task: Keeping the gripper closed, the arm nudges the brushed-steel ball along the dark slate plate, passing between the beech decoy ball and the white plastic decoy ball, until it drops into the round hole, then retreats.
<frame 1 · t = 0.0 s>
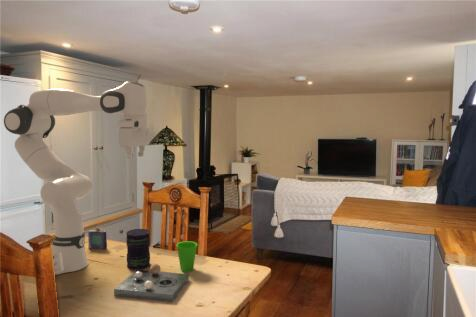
hand: (135, 157, 147), 48 cm above the table, fingers open, 8 cm apart
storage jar: (138, 265, 159), on the table
plastic ball: (148, 284, 131), point 4 cm above the table, touching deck
wood ball: (155, 268, 144), point 4 cm above the table, touching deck
steel ball: (138, 275, 139), point 4 cm above the table, touching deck
flask: (97, 248, 180), on the table
cup: (186, 270, 155), on the table
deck: (153, 287, 138), on the table
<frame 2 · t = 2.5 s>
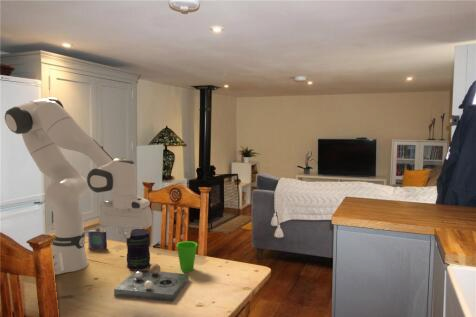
hand: (125, 237, 138), 19 cm above the table, fingers closed
nothing on the table moved.
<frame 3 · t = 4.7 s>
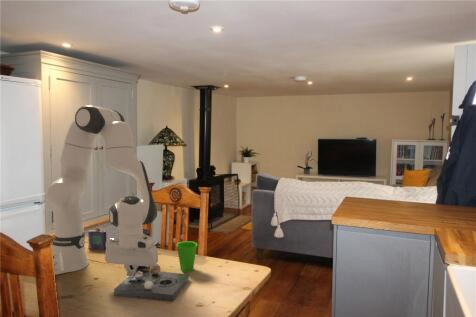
hand: (131, 275, 139), 4 cm above the table, fingers closed
steel ball: (138, 275, 139), point 4 cm above the table, tilted 7°, touching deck, gripper
everything else where it was.
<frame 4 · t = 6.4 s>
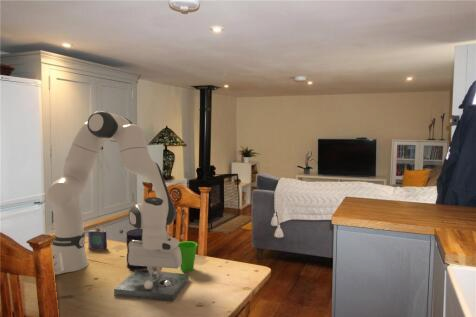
hand: (154, 277, 137), 4 cm above the table, fingers closed
steel ball: (167, 284, 137), point 2 cm above the table, tilted 93°
everything else where it was.
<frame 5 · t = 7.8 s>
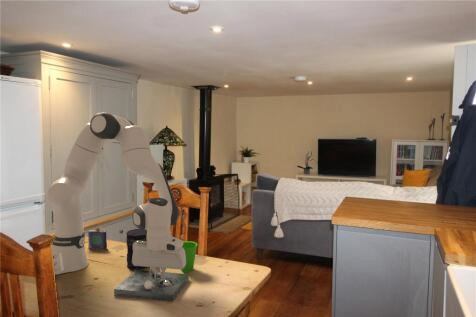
hand: (159, 278, 137), 4 cm above the table, fingers closed
steel ball: (166, 284, 137), point 2 cm above the table, tilted 81°
everything else where it was.
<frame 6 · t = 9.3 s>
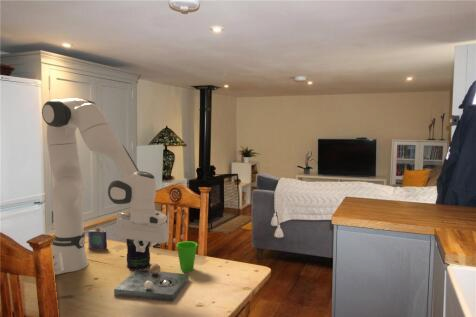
hand: (140, 251, 137), 14 cm above the table, fingers closed
steel ball: (165, 284, 137), point 2 cm above the table, tilted 69°
everything else where it was.
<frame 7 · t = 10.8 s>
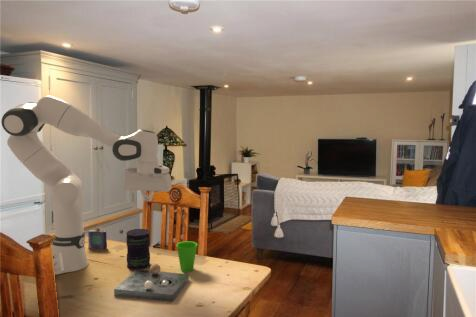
hand: (147, 200, 155), 29 cm above the table, fingers closed
steel ball: (165, 284, 137), point 2 cm above the table, tilted 57°
everything else where it was.
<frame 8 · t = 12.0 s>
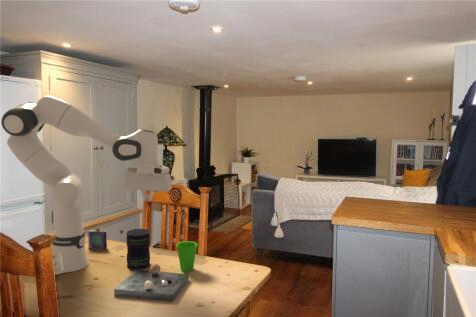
hand: (147, 200, 155), 29 cm above the table, fingers closed
steel ball: (164, 284, 137), point 2 cm above the table, tilted 48°
everything else where it was.
at the end: steel ball 0.6 cm from the target spot on the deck, point 1.6 cm above the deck's base; wood ball moved 0.1 cm from its start; plastic ball moved 0.1 cm from its start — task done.
